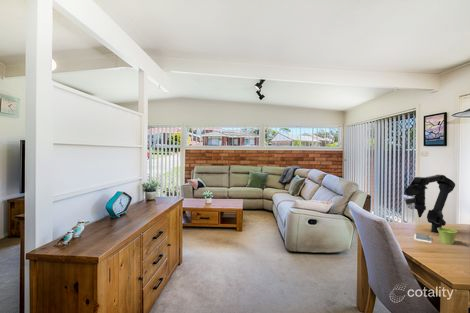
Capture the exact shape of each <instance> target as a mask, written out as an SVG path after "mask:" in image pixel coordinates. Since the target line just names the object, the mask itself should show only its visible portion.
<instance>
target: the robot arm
mask: <svg viewBox="0 0 470 313" xmlns="http://www.w3.org/2000/svg"><path fill="white" fill-rule="evenodd" d="M431 183H437V184H438V189H439V193H438V195H437V197H436V200H435V203H434V206H433V208H432V209H429V210H426V209H427V206H426V190H427V189H428V187H427V185H429V184H431ZM455 187H456V183H455V182H454V181H453V179H450V178H448V177H447V176H446V175H445V174H435V175H429V176H425V177H422V176H416V177H414V178H413V179H412V181H411V183H410V184H409V185H407V187H406V188H405V189H404V193H405V195H406V196H408V197H411V196H414V197H411V198H406V199H404V202H405V204H406V205H411V204H414V205H413V206H414V207H413V209H414V210H417V211H416V212H417V215H418V218H422V217H423V213H425V211H427V214H426V219H427V222H428V223H430V224H431V227H430V228H431V229H430V233H435V234H439V232H438V230H437V228H443V226H446V224H447V222H446V220H445V219H444V213H443V209H444V207H445V204H446V201H447V199H448V196H449V193H452V192H453V191H454V189H455Z"/></svg>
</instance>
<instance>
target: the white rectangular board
mask: <svg viewBox="0 0 470 313" xmlns="http://www.w3.org/2000/svg"><path fill="white" fill-rule="evenodd" d="M413 234H414V235H413V240H414V241H419V242H426V243H430V244H431V243H432V236H430V235H429V238H430V241H427V240H421V239H416V233H413Z"/></svg>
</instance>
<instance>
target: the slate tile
mask: <svg viewBox="0 0 470 313" xmlns="http://www.w3.org/2000/svg"><path fill="white" fill-rule="evenodd" d="M415 234H416V239H421V240H427V241H430V238H429V236H430V234H426V233H425V234H424V233H419V232H415Z"/></svg>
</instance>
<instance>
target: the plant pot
mask: <svg viewBox="0 0 470 313" xmlns="http://www.w3.org/2000/svg"><path fill="white" fill-rule="evenodd" d="M437 230H438V232H439V233H438V236H439V242H440V243H441V244H444V245H451V246H452V245H454V243H455V242H454V241H455V238H456V234H457V233H458V231H457V230H455V229H452V228H447V227H442V228H437Z"/></svg>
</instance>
